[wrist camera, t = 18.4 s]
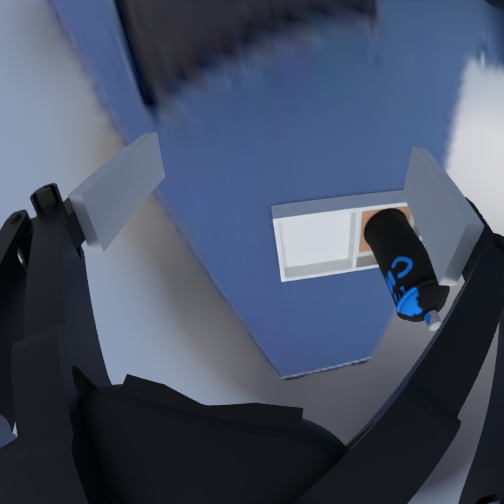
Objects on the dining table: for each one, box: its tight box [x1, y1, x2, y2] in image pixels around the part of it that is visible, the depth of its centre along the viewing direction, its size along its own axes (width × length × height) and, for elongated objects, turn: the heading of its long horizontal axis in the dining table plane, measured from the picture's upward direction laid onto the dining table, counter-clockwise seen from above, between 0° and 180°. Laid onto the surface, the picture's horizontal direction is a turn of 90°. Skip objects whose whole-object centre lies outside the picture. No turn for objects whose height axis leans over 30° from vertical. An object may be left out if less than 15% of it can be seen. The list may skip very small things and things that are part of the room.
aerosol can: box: [364, 208, 450, 331], centre depth 38 cm, size 8×8×20 cm
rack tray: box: [271, 190, 422, 282], centre depth 46 cm, size 25×13×4 cm, turn 99°
